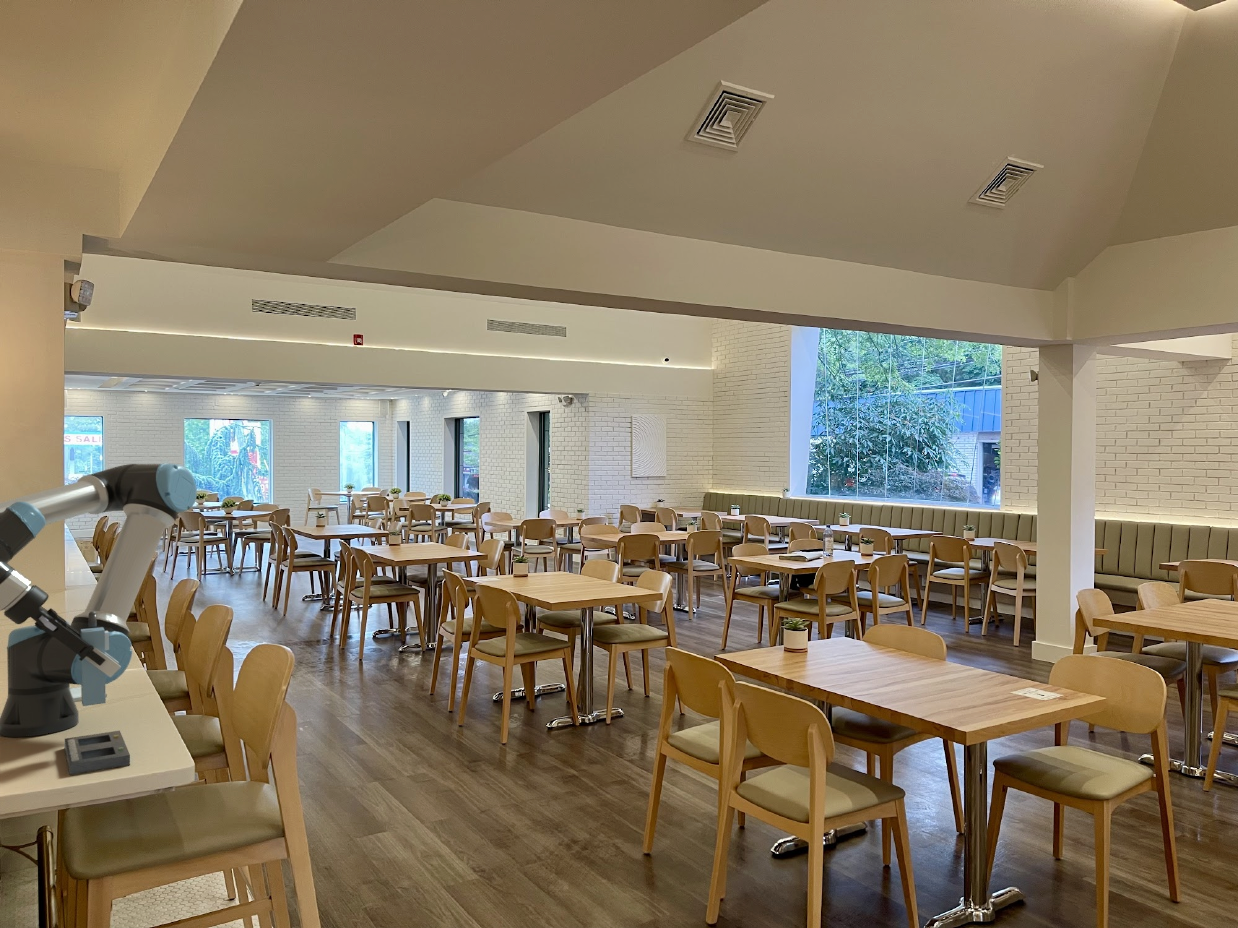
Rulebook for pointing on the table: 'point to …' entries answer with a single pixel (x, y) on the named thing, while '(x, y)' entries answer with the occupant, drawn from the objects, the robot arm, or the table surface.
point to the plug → (89, 673)
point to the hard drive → (77, 694)
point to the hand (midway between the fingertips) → (114, 669)
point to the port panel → (96, 752)
